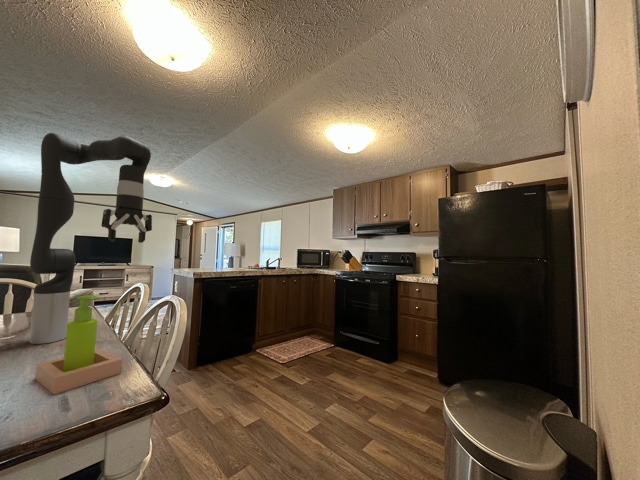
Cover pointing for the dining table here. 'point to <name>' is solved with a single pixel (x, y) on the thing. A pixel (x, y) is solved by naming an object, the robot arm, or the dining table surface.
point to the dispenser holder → (76, 372)
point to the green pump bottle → (80, 337)
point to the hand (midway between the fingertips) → (127, 241)
